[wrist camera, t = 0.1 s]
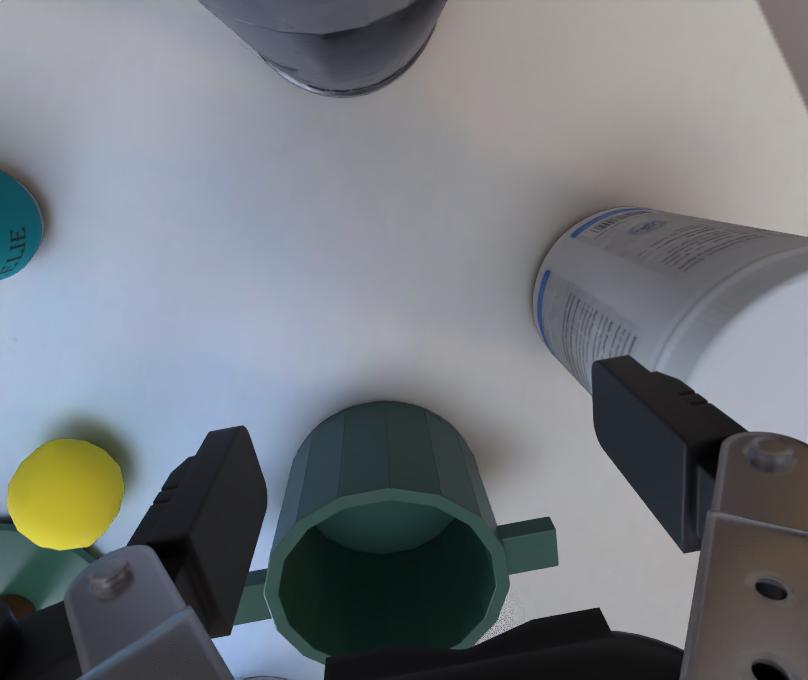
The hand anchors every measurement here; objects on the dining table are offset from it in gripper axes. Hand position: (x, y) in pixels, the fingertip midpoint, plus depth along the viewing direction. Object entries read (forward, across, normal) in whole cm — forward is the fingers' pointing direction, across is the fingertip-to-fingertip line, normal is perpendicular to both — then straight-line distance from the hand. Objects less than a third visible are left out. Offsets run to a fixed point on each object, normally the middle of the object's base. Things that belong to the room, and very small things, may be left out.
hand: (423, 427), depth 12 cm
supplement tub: (+17, -12, +4) cm, 21 cm away
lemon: (+17, +20, +9) cm, 28 cm away
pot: (+17, +3, +14) cm, 22 cm away
